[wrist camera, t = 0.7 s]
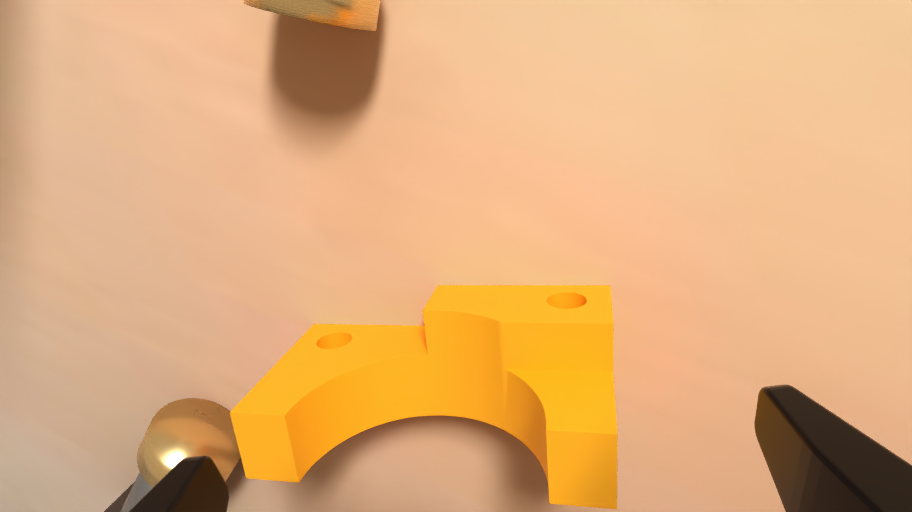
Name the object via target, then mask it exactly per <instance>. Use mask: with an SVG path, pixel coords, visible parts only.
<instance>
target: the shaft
mask: <svg viewBox="0 0 912 512" xmlns="http://www.w3.org/2000/svg"><path fill="white" fill-rule="evenodd" d="M202 455H207V456H209V457H211V458H212V460H213V461H214V463H215V465H216V466H217V468H218V470H219V471H220V473H221V475H222V477H223V478H224V480H225V482H226V480H227V479H228V477H229V476H230V474H231V472H232V471H233V469H234V467H235V466H236V464H237V462H238V461H239V459H240V457H241V456H240V452H239V448H238V444H237V440H236V436H235V432H234V428H233V424H232V420H231V416H230V411H228V410H227V409H226V408H224V407H222V406H221V405H219V404H216V403H214V402H211V401H208V400H203V399H193V398H192V399H182V400H178V401H174V402H172V403H169V404H168V405H166V406H164V407H163V408H161V409H160V410H159V411H158V412H157V413H156V415H155V416H154V417H153V419H152V421H151V423H150V425H149V427H148V429H147V432H146V434H145V436H144V438H143V440H142V442H141V444H140V446H139V449H138V454H137V463H138V467H139V470H140V473H139V475H138V477H137V479H136V481H135V482H134V483H133V484H132V485H131V486H130V487H129V488H128V489H127V490H126V491H125V492H124V493H123V494H122V495H121V496H120V497H119V498H118V499H117V500H116V501H115V502H114V503H112V504H111V505H110V506H109V507H108V508H107V509H106V510H105V511H104V512H129V511H130V510H131V509H132V508H133V507H134V506H135V505H136V504H137V503H138V502H139V501H140V500H141V499H142V498H143V497H144V496H145V495H146V494H147V493H148V492H149V491H150V490H151V489H152V488H153V487H154V486H155V485H156V484H157V483H158V482H159V481H160V480H161V479H162V478H163V477H164V476H165V475H166V474H167V473H168V472H169V471H171V470H172V469H173V468H174V467H175V466H176V465H177V464H178V463H179V462H180V461H181V460H183V459H184V458H187V457H194V456H202Z"/></svg>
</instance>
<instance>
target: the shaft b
mask: <svg viewBox="0 0 912 512" xmlns="http://www.w3.org/2000/svg"><path fill="white" fill-rule="evenodd" d="M380 1H381V0H244V4H246V5H249V6H252V7H255V8H259V9H262V10H266V11H270V12H274V13H278V14H282V15H287V16H291V17H295V18H300V19H305V20H309V21H314V22H319V23H324V24H330V25H335V26H341V27H347V28H353V29H360V30H369V31H376V29H377V22H378V15H379V8H380Z"/></svg>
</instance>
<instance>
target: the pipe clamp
mask: <svg viewBox="0 0 912 512" xmlns="http://www.w3.org/2000/svg"><path fill="white" fill-rule="evenodd" d="M423 318H424V326H402V325H342V324H314V325H313V326H312V327H311V328H310V329H309V330H308V331H307V332H306V333H305V334H304V335H303V336H302V337H301V338H300V339H299V340H298V341H297V342H296V343H295V345H294V346H293V347H292V348H291V349H290V350H289V351H288V352H287V353H286V354H285V355H284V356H283V357H282V358H281V359H280V360H279V361H278V362H277V363H276V364H275V365H274V367H273V368H272V369H271V370H270V371H269V372H268V373H267V374H266V375H265V376H264V377H263V378H262V379H261V380H260V381H259V382H258V383H257V384H256V385H255V386H254V388H253V389H252V390H251V391H250V392H249V393H248V394H247V395H246V396H245V397H244V398H243V399H242V400H241V401H240V402H239V403H238V404H237V405H236V406H235V407H234V408H233V410H232V411H231V412H230V416H231V420H232V424H233V428H234V432H235V436H236V440H237V444H238V448H239V452H240V456H241V460H242V464H243V468H244V471H245V475H246V478H251V479H263V480H275V481H286V482H298V483H299V482H300V481H301V479H302V478H303V476H304V475H305V474H306V472H307V471H308V470H309V469H310V468H311V467H312V466H313V465H314V464H315V463H316V462H317V461H318V460H319V459H320V458H321V457H322V456H323V455H325V454H326V453H327V452H328V451H330V450H331V449H332V448H334V447H335V446H337V445H338V444H340V443H341V442H343V441H345V440H347V439H348V438H350V437H352V436H354V435H356V434H358V433H360V432H362V431H365V430H367V429H369V428H372V427H375V426H378V425H381V424H383V423H387V422H391V421H395V420H399V419H404V418H410V417H417V416H429V415H445V416H457V417H465V418H470V419H475V420H479V421H482V422H486V423H488V424H491V425H494V426H496V427H498V428H501V429H503V430H505V431H507V432H508V433H510V434H512V435H513V436H515V437H516V438H518V439H519V440H520V441H522V442H523V443H524V444H525V445H526V446H527V447H528V448H529V449H530V450H531V451H532V452H533V454H534V455H535V456H536V457H537V459H538V460H539V462H540V464H541V465H542V468H543V470H544V472H545V474H546V478H547V481H548V486H549V504H561V505H573V506H585V507H597V508H609V509H617V422H616V407H615V392H614V377H613V314H612V301H611V289H610V285H438V286H437V288H436V290H435V291H434V293H433V294H432V296H431V298H430V299H429V301H428V303H427V304H426V306H425V308H424V309H423Z"/></svg>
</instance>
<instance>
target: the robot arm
mask: <svg viewBox="0 0 912 512" xmlns="http://www.w3.org/2000/svg"><path fill="white" fill-rule="evenodd" d="M755 432H756V436H757V439H758V442H759V444H760V447H761V450H762V452H763V455H764V457H765V460H766V462H767V465H768V467H769V470H770V473H771V475H772V478H773V480H774V483H775V485H776V488H777V490H778V493H779V496H780V498H781V501H782V503H783V506H784V508H785V511H786V512H912V465H911V464H909V463H908V462H906V461H905V460H903V459H902V458H900V457H898V456H897V455H895V454H894V453H892V452H891V451H889V450H888V449H886V448H885V447H883V446H882V445H880V444H879V443H877V442H876V441H874V440H873V439H871V438H870V437H868V436H867V435H865V434H864V433H862V432H861V431H859V430H858V429H856V428H855V427H853V426H852V425H850V424H849V423H847V422H846V421H844V420H843V419H841V418H840V417H838V416H836V415H835V414H833V413H832V412H830V411H829V410H827V409H826V408H824V407H823V406H821V405H820V404H818V403H817V402H815V401H814V400H812V399H811V398H809V397H808V396H806V395H805V394H803V393H802V392H800V391H799V390H797V389H796V388H794V387H792V386H790V385H777V386H768V387H764V388H762V389H761V390H760V392H759V395H758V402H757V409H756V417H755ZM228 500H229V491H228V486H227V484H226V482H225V480H224V478H223V477H222V475H221V473H220V471H219V470H218V468H217V466H216V465H215V463H214V461H213V460H212V458H211V457H209V456H207V455H202V456H194V457H187V458H184V459H183V460H181V461H180V462H179V463H178V464H177V465H176V466H175V467H174V468H173V469H172V470H171V471H169V472H168V473H167V474H166V475H165V476H164V477H163V478H162V479H161V480H160V481H159V482H158V483H157V484H156V485H155V486H154V487H153V488H152V489H151V490H150V491H149V492H148V493H147V494H146V495H145V496H144V497H143V498H142V499H141V500H140V501H139V502H138V503H137V504H136V505H135V506H134V507H133V508H132V509H131V510H130V511H129V512H227V506H228Z"/></svg>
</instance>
